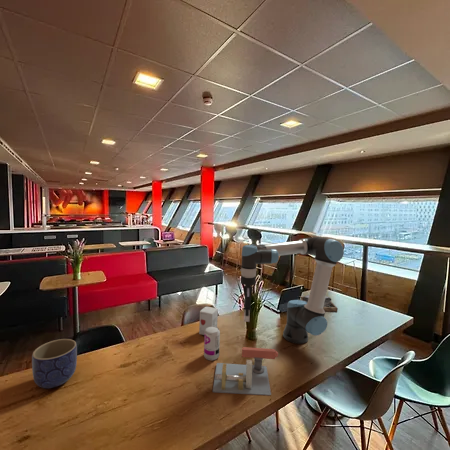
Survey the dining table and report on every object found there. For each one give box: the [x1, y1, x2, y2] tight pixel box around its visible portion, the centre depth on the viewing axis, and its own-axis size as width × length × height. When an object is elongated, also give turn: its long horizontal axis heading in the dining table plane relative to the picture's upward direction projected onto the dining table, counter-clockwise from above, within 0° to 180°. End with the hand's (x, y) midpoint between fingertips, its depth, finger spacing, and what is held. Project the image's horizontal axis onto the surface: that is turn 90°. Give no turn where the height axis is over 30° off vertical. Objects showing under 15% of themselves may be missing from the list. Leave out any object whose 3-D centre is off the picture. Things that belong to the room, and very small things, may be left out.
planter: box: [31, 338, 78, 389], centre depth 111 cm, size 17×17×15 cm
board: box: [212, 359, 272, 396], centre depth 115 cm, size 25×19×7 cm
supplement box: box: [198, 306, 219, 336], centre depth 157 cm, size 9×9×15 cm
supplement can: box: [203, 326, 221, 361], centre depth 132 cm, size 8×8×15 cm
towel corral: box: [300, 296, 338, 313], centre depth 207 cm, size 25×22×3 cm
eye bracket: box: [222, 363, 243, 390], centre depth 110 cm, size 9×6×8 cm, turn 86°
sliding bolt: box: [213, 359, 253, 389], centre depth 109 cm, size 16×3×11 cm, turn 87°
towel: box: [303, 294, 332, 307], centre depth 207 cm, size 15×18×8 cm
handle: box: [241, 346, 279, 361], centre depth 120 cm, size 18×5×4 cm, turn 86°
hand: (246, 320), depth 127 cm, fingers closed
